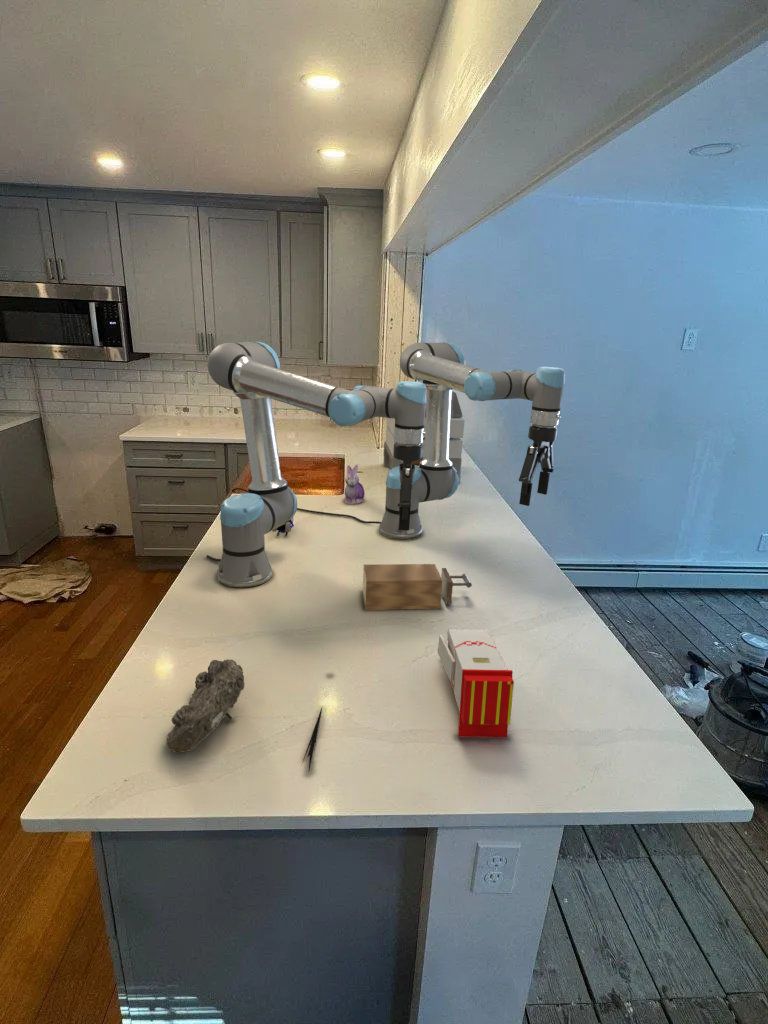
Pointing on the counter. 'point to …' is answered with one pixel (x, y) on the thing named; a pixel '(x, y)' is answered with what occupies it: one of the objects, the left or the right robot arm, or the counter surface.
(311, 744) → the feather
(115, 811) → the counter surface
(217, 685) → the fossil
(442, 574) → the drawer
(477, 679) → the toy
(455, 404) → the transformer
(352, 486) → the figurine
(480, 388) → the right robot arm
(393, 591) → the cabinet
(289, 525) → the figurine character
